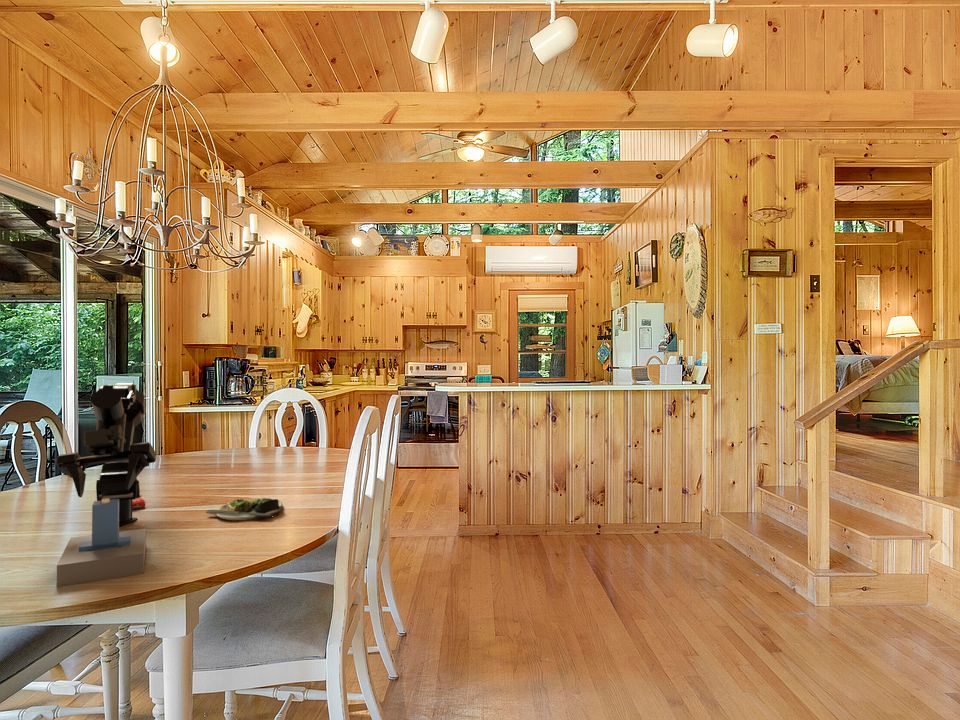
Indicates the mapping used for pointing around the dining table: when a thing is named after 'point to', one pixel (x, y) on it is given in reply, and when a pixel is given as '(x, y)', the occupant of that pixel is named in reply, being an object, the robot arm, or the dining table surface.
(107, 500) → the servo
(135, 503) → the race car
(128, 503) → the robot arm
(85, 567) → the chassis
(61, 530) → the dining table surface
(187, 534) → the dining table surface
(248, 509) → the salad plate
